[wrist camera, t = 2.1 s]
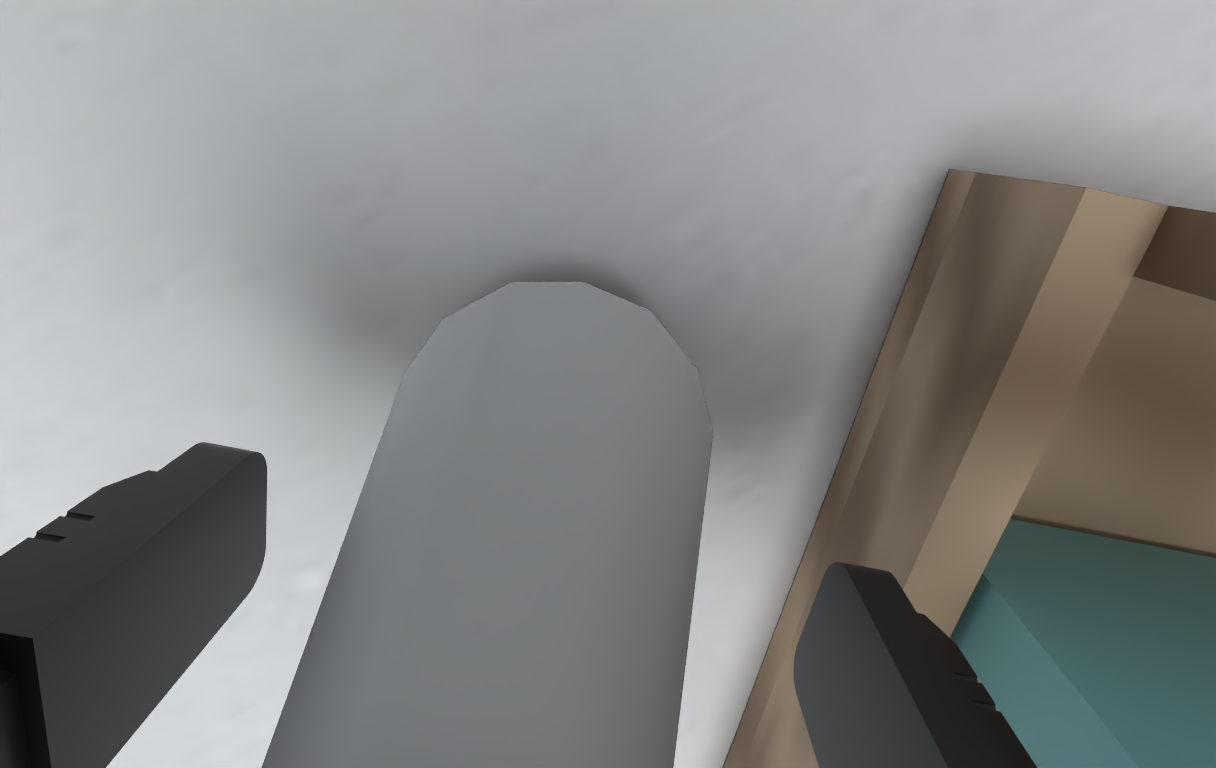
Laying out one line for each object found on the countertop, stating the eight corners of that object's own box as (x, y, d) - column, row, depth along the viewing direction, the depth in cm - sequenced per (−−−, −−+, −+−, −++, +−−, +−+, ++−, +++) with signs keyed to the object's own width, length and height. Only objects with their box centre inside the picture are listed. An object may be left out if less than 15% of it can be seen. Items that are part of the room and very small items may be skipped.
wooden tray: (949, 169, 13) (1172, 199, 8) (1466, 283, 13) (1996, 382, 8) (711, 799, 19) (743, 1044, 14) (1063, 856, 20) (1216, 1110, 15)
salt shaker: (625, 205, 13) (657, 1250, 1) (737, 437, 15) (1246, 1814, 3) (382, 332, 14) (-1068, 1582, 2) (515, 534, 16) (175, 1825, 4)
